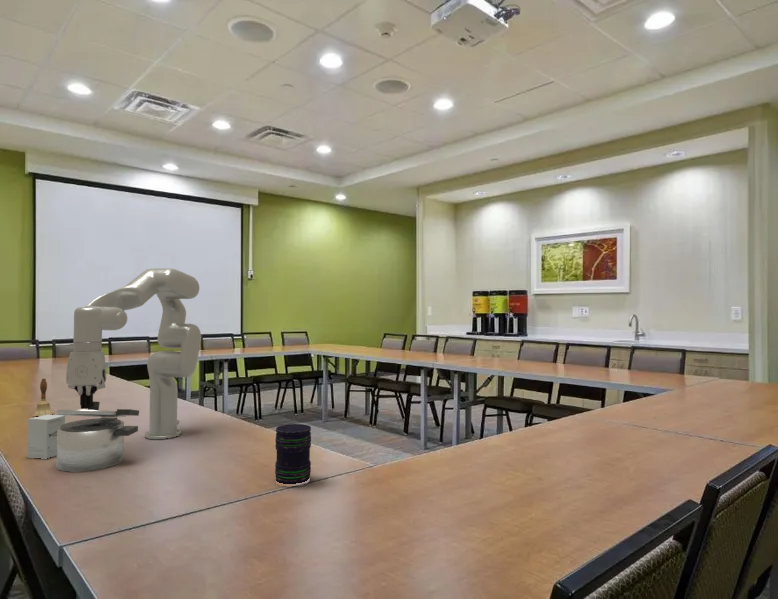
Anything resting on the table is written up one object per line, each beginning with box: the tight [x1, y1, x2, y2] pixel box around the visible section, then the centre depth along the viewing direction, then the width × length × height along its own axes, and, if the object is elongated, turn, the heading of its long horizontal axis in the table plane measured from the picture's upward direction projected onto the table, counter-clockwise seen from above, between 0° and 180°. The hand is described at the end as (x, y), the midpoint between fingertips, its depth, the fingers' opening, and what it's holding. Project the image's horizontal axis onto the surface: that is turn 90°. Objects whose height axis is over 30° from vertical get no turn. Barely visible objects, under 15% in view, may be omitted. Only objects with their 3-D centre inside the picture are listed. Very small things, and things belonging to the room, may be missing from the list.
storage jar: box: [274, 423, 312, 484], centre depth 145 cm, size 10×10×15 cm
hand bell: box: [32, 378, 55, 417], centre depth 229 cm, size 8×8×16 cm
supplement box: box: [27, 414, 66, 460], centre depth 168 cm, size 7×7×13 cm
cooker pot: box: [55, 417, 139, 473], centre depth 161 cm, size 19×22×12 cm
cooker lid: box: [55, 400, 140, 418], centre depth 162 cm, size 19×22×4 cm
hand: (86, 407), depth 158 cm, fingers closed
